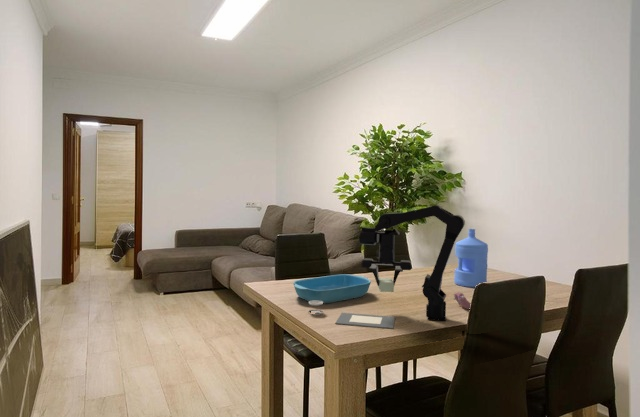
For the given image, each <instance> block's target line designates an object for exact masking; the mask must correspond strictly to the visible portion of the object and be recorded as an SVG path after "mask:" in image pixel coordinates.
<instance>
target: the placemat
mask: <svg viewBox="0 0 640 417" xmlns="http://www.w3.org/2000/svg"><path fill="white" fill-rule="evenodd" d="M395 320H396V316H388V315H387V316H386V315H375V314H364V313H363V314H362V313H354V312H353V313H350V312H341V313H340V315H339V316H338V318H337V320H336V321H335V322H334V324H335V325H341V324H345V326H353V325H356V327H365V326H367V327H369V328H376V327H377V328H378V329H379V328H380V329H391V330H393V329H394V324H395ZM367 327H366V328H367ZM377 328H376V329H377Z"/></svg>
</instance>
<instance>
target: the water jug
mask: <svg viewBox="0 0 640 417" xmlns="http://www.w3.org/2000/svg"><path fill="white" fill-rule="evenodd" d="M488 246H489V245H488V244H487V243H486V242H485V241H482V240H480V239H479V238H476V228H473V229H472V228H469V229H468V236H467V237H466V238H463V239H461V240H459V241H457V242H456V241H455V246H454V251H455V253H454V256H455V257H456V258H457V268H455V269H454V280H453V281H454V283H455V284H456V285H458V286H460V287H461V286H462V287H466V288H476V287H475V286H476V285H478V284H479V283H483V282H487V283H488V278H487V277H488V276H487V275H488V253H489V247H488Z"/></svg>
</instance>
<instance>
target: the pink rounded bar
mask: <svg viewBox="0 0 640 417" xmlns="http://www.w3.org/2000/svg"><path fill="white" fill-rule="evenodd" d="M453 300H455V301H456V302H457V304H458V305H459V307H460V308H462V309H464V308H465V309H467V310H469V308H470V304H472V303H471V302H469V301H468V300H467V299H466V297H465V294H463V292H459V291H458V292H455V293H453Z"/></svg>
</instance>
